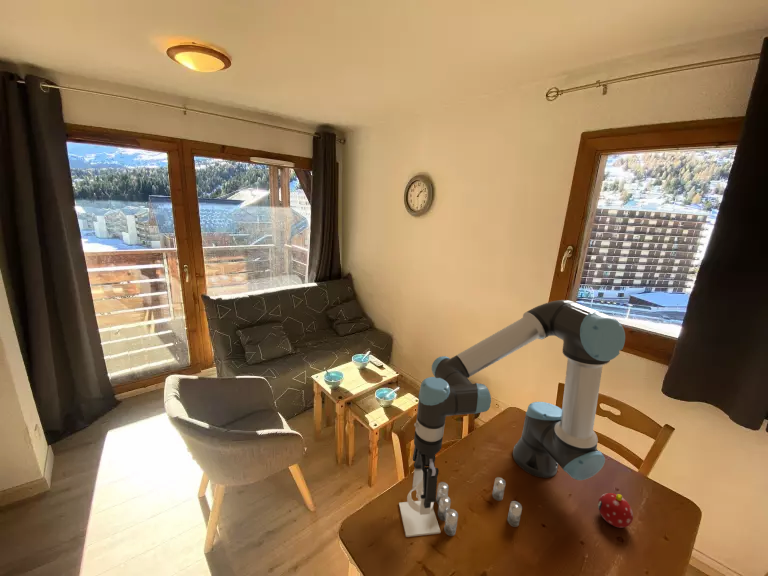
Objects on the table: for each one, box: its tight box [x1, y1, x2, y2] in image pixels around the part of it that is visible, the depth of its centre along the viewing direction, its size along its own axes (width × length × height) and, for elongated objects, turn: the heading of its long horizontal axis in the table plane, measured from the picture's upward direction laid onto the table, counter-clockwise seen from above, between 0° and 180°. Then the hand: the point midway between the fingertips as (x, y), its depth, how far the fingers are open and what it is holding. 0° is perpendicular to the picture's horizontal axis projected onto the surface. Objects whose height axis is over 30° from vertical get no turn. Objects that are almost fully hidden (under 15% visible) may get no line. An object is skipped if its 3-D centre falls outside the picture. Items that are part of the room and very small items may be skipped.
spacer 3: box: [444, 508, 459, 537], centre depth 90 cm, size 3×3×6 cm
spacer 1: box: [435, 481, 449, 506], centre depth 99 cm, size 3×3×6 cm
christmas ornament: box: [597, 492, 634, 529], centre depth 95 cm, size 9×9×10 cm
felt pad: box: [398, 500, 441, 538], centre depth 94 cm, size 10×10×1 cm
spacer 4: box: [491, 476, 507, 502], centre depth 102 cm, size 3×3×6 cm
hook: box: [406, 481, 435, 512], centre depth 91 cm, size 8×12×7 cm
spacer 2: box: [437, 495, 452, 522], centre depth 94 cm, size 3×3×6 cm
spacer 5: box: [506, 500, 523, 528], centre depth 94 cm, size 3×3×6 cm
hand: (420, 499), depth 92 cm, fingers closed on hook, 8 cm apart
